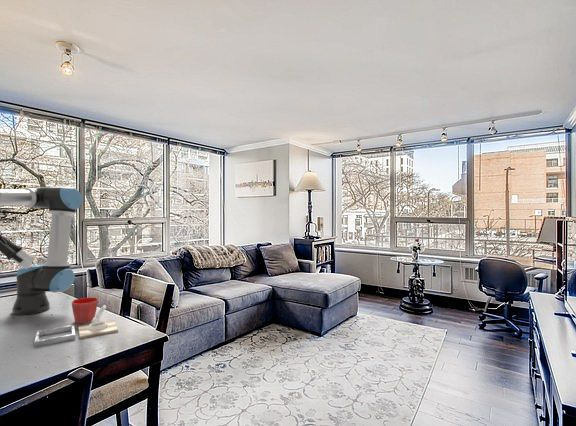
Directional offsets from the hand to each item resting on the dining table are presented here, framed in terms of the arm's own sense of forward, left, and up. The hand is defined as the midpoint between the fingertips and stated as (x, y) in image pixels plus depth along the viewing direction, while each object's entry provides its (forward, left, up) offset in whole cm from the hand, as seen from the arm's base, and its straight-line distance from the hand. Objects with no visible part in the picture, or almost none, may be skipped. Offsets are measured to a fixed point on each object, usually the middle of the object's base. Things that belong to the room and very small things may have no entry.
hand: (31, 264), depth 134 cm
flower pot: (-8, +20, -30) cm, 37 cm away
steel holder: (+9, +9, -30) cm, 32 cm away
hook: (+8, +24, -29) cm, 38 cm away
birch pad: (+9, +24, -30) cm, 39 cm away
